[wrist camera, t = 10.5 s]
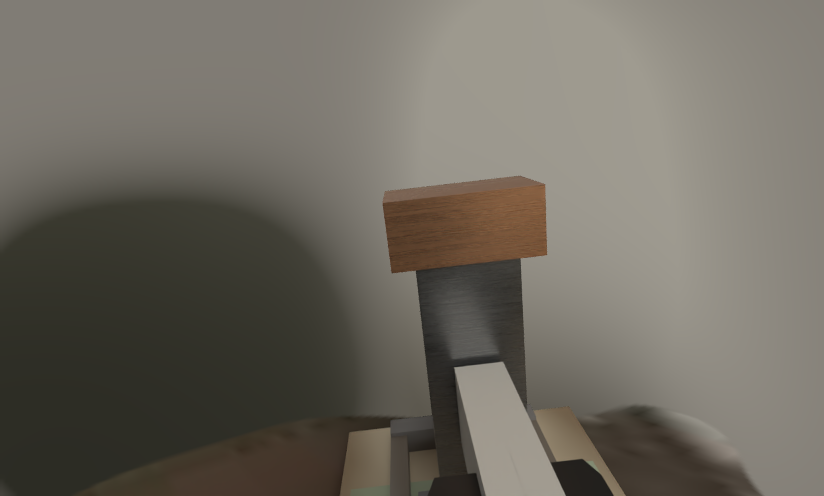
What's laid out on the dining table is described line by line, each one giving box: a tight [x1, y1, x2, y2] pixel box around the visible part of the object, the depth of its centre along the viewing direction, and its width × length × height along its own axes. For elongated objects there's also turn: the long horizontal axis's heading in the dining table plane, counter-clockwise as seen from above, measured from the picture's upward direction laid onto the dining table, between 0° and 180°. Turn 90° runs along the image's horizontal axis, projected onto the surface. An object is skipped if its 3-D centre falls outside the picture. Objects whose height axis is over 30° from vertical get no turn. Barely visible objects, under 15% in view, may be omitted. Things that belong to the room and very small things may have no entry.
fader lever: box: [383, 176, 547, 496], centre depth 14 cm, size 5×2×13 cm, turn 92°
